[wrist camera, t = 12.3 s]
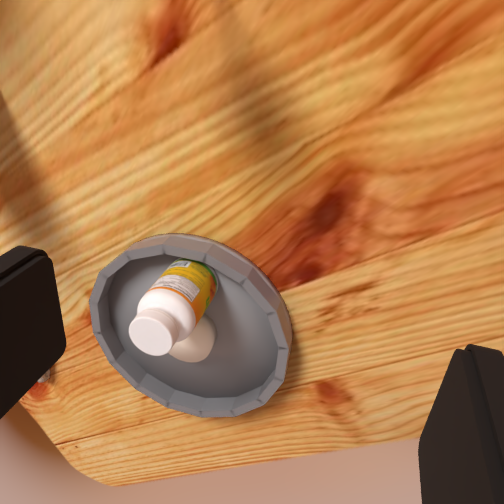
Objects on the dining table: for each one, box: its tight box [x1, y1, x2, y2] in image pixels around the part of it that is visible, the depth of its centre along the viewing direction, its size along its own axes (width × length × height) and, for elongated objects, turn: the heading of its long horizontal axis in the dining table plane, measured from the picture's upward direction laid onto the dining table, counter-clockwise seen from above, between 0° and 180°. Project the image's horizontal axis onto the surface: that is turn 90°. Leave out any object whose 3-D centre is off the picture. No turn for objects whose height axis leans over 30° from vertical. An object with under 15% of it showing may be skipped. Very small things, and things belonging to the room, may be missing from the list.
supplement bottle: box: [129, 257, 218, 356], centre depth 40 cm, size 5×5×10 cm
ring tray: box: [89, 233, 293, 417], centre depth 47 cm, size 22×22×3 cm
